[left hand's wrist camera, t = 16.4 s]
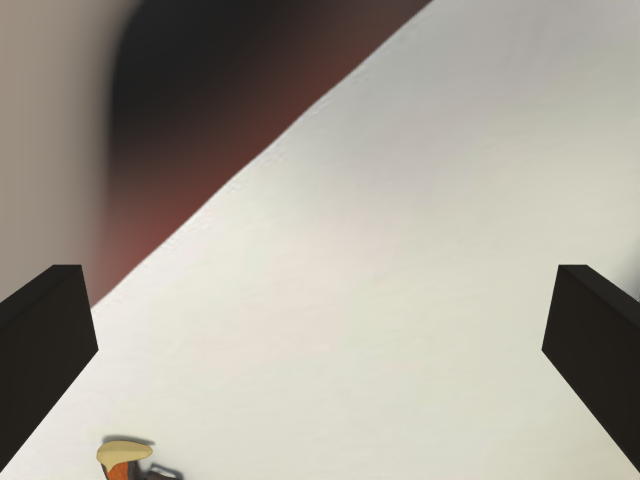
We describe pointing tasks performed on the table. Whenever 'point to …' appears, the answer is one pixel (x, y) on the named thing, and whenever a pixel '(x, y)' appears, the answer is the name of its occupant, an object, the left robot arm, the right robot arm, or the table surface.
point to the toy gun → (125, 460)
